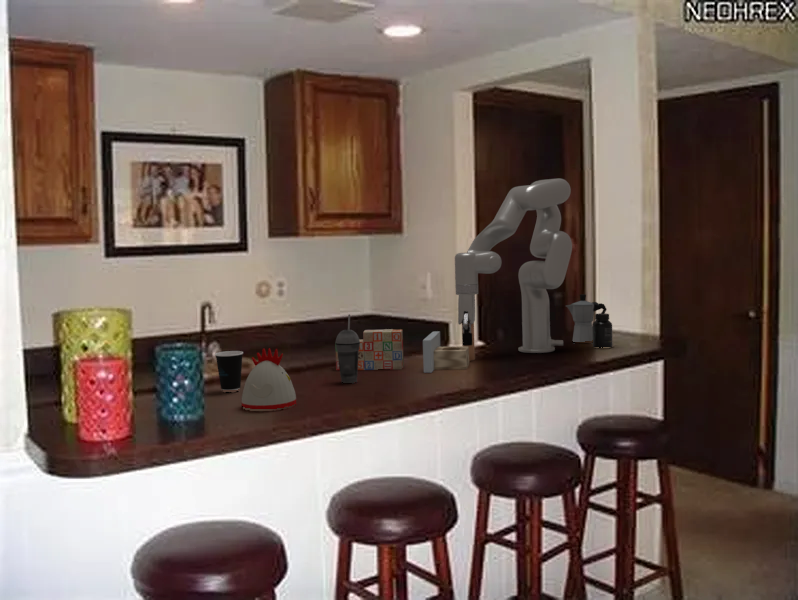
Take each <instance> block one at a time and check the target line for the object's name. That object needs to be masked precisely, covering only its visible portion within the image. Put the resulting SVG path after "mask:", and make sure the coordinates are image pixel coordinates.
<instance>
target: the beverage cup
mask: <svg viewBox="0 0 798 600" xmlns="http://www.w3.org/2000/svg"><path fill="white" fill-rule="evenodd" d="M347 315H348V316H347V318H348V319H347V320H348V321H347V329H343V330H341V331H340V332H339V333H338V334H337V335H336V339H335V342H336V343H334V345H335V344H336V349H337V352H338V360H339V368H340V370H339V375H340V379H341V383H342V382H343V383H352V384H355V383H354V382H356V383H358V374H359V373H358V371H359V370H358V352H359V346H360V341H359V339H360V337H359V335H358V334H357V332H355V331H354V330H352V329H350V328H351V314H347ZM343 383H342V384H343Z"/></svg>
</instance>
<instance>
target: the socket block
mask: <svg viewBox="0 0 798 600" xmlns="http://www.w3.org/2000/svg"><path fill="white" fill-rule="evenodd" d="M469 366H470V361H469V346H460V345H459V346H440V347H437V348H436V349H435V350H434V370H433V371H435V370H439V371H440V370H441V371H442V370H446V371H447V370H448V371H449V370H450V371H451V370H467V369H468V368H469Z"/></svg>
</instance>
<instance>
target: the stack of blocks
mask: <svg viewBox="0 0 798 600" xmlns="http://www.w3.org/2000/svg"><path fill="white" fill-rule="evenodd" d="M403 332H404V331H403V329H393V328H391V329H389V328H388V329H387V328H385V329H365V330H364V331H363V332H362V333H363V334H362V335H363V336H362V337H363V339H360V338H359V341H360V346H359V352H358V371H376V370H377V371H379V370H378V369H390V370H403V369H402V368H404V337H403V334H404V333H403ZM335 343H336V341H335ZM335 343H334V346H335V347H334V349H335V350H334V351H335V370H336V371H340V368H339V360H338V352H337V349H336V344H335Z"/></svg>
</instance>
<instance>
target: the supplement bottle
mask: <svg viewBox="0 0 798 600" xmlns="http://www.w3.org/2000/svg"><path fill="white" fill-rule="evenodd" d="M592 334H593V343H592V348H593V347H599V348H601V347H602V348H603V347H612V348H613V322H611V321H610V313H606V312H605V313H602V312H600V313H599V312H598V313H594V321H592Z"/></svg>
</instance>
